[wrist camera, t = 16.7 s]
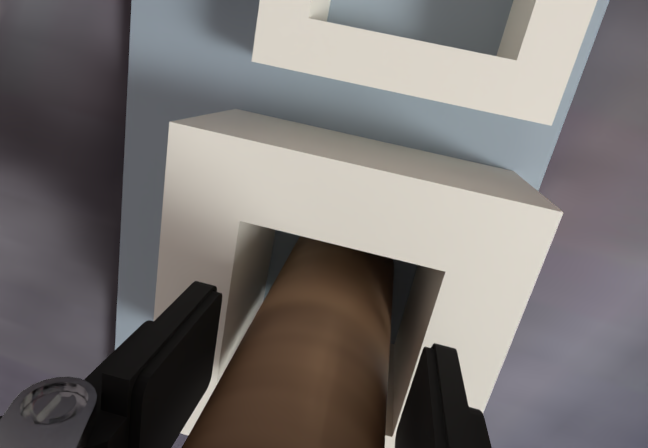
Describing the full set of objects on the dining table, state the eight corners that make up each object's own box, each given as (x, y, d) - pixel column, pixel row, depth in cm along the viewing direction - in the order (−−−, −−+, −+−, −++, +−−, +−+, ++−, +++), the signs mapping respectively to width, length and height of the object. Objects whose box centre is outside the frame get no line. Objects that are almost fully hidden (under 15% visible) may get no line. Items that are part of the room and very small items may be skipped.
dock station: (423, 476, 21) (431, 621, 16) (124, 390, 23) (32, 495, 17) (660, -172, 13) (863, -365, 7) (161, -249, 14) (4, -464, 9)
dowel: (386, 319, 18) (356, 753, 7) (288, 303, 18) (115, 687, 7) (400, 226, 16) (390, 594, 5) (293, 212, 17) (85, 522, 6)
